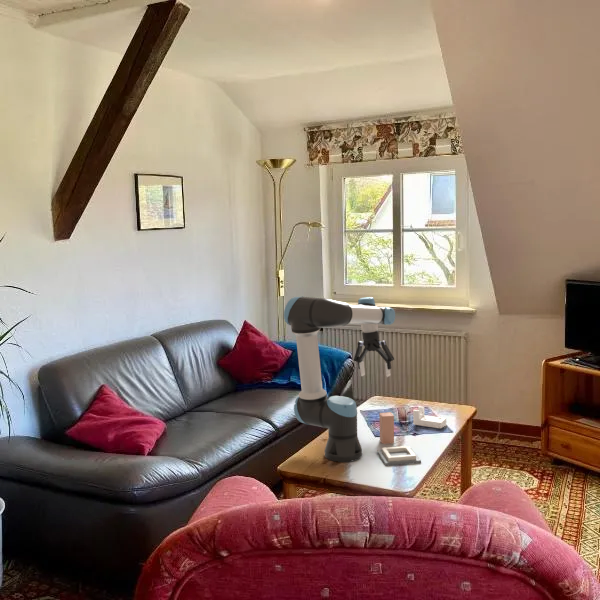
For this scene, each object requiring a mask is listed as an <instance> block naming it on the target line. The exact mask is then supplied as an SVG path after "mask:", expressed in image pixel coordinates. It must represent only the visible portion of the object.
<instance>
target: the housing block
mask: <svg viewBox="0 0 600 600" xmlns="http://www.w3.org/2000/svg"><path fill="white" fill-rule="evenodd" d="M379 441H380V443H382V445H387V444H395V416H394V414H393V413H392V412H390V411H389V412H379Z"/></svg>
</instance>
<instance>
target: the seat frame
mask: <svg viewBox="0 0 600 600" xmlns="http://www.w3.org/2000/svg"><path fill="white" fill-rule="evenodd" d="M376 453H377V455H378V456H379V458H380V459H381V461H382V462H383V464H384V465H385V466H388V465H389V466H399V465H398V464H401V465H410V464H409V463H414V464H422V459H420V457H419V456H418V454H416V452H415V451H414V450H413V449H412V447H410V446H409V445H403V446H402V445H401V446H389V447H388V446H387V447H381V449H377V451H376Z"/></svg>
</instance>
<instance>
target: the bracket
mask: <svg viewBox="0 0 600 600" xmlns="http://www.w3.org/2000/svg"><path fill="white" fill-rule="evenodd" d="M412 413H413V414H412V415H413V416H412V417H413V418H412V419H413V420H412V421H413V425H414V426H421V427H429V428H435V429H442V428H443V427H444V426H445V427H446V426H447V418H446V417H439V416H431V415H425V406H420V405H419V406H417V409H413V411H412ZM445 427H444V428H445Z"/></svg>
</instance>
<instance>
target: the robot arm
mask: <svg viewBox="0 0 600 600" xmlns="http://www.w3.org/2000/svg"><path fill="white" fill-rule="evenodd" d="M376 305H377V304H376V302H375V298H374V297H372V296H367V297H366V296H365V297H360V298H359V299H358V301H357V304H354V305H353V304H349V303H347V302H345V301H338V300H333V299H329V298H324V297H309V296H293V297H292V298H290V299H289V300H288V301H287V303H286V305H285V306H284V311H283V319H284V322H285V323H286V325H288V326H290V327H291V329H290V330H291V333H293V334H294V335H295V338H296V341H295V342H296V348H297V358H298V367H299V378H300V386H301V391H299V393H298V396H297V397H296V398H295V401H294V403H295V404H293V412H294V416H295V418H296V419H297V421H298V422H300V423H302V424H305V425H308V426H315V427H319V428H320V427H321V428H324V429H328V438H327V440H326V445H325V447H324V457H325V458H326V459H327V460H329V461H332V462H336V461H338V462H337V463H349V462H355V461H357V460H359V459H361V458H362V457H363V448H362V446H361V443H360V440H359V437H358V409H357V403H356V401H355V400H354V399H352V398H351V397H347V396H343V395H340V396H339V395H332V396H329V397H328V394H327V390H325V389H324V388H323V381H322V380H323V379H322V372H321V371H322V368H321V359H320V351H319V350H320V349H319V342H318V341H319V339H318V334H319V331H320V330H321V328H322V329H324V328H326V329H327V328H334V327H335V328H336V327H345V326H348V325H350V324H352V325H353V324H354V325H357V324H359V325H361V326H360V327H361V331H362V333H361V334H362V340H359V341H357V348H356V351H355V353H354V358H353V361H354V362H357V367H358V369H359V371H360V377H364V376H366V369H365V361H363V360H364V358H365V356H366V355H367V353H368V352H371V351H372V352H376V353H378V354H379V355H380V357H381V358H382V359H383V360H384V361H385V362H384V368H385V376H386V378H388V377H391V376H392V375H391V369H392V361H395V357H394V355H393V354H392V352H391V350H390V349H389V346H387V341H386V340H381V341H380V333H379V330H378V329H379V326H378V325H384V326H386V325H387V326H388V325H389V326H390V325H392V324H394V322H395V319H396V310H395V309H394V308H392V307H389V306H388V307H387V306H376ZM363 346H364V348H363ZM362 349H363V350H362Z"/></svg>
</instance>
